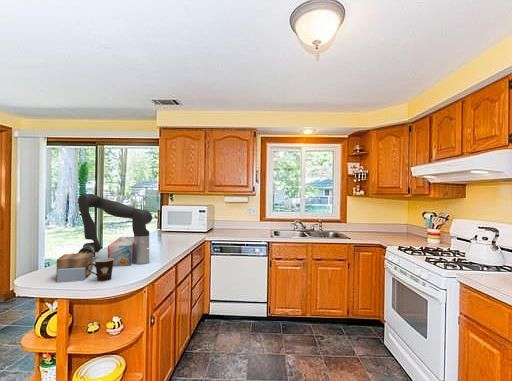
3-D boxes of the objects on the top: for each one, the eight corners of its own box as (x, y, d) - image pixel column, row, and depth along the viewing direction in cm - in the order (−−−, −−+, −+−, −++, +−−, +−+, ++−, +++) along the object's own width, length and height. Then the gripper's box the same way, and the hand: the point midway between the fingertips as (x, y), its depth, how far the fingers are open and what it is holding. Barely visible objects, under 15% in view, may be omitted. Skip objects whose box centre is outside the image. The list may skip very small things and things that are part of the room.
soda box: (131, 266, 192) (131, 244, 192) (106, 267, 189) (107, 245, 189) (139, 253, 232) (139, 235, 232) (119, 253, 228) (119, 236, 228)
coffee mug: (116, 277, 167) (116, 258, 167) (109, 281, 158) (109, 261, 158) (93, 277, 166) (94, 258, 166) (85, 281, 158) (85, 261, 158)
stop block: (85, 278, 163) (85, 267, 163) (84, 280, 160) (84, 268, 160) (58, 280, 159) (58, 268, 159) (57, 282, 157) (57, 270, 157)
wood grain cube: (92, 268, 177) (92, 253, 177) (87, 275, 164) (87, 258, 164) (64, 270, 173) (64, 254, 173) (56, 277, 160) (56, 259, 160)
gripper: (74, 246, 192) (67, 252, 175) (98, 245, 196) (93, 251, 180) (74, 259, 192) (66, 265, 175) (98, 257, 196) (93, 264, 180)
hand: (80, 258), depth 178 cm, fingers closed
